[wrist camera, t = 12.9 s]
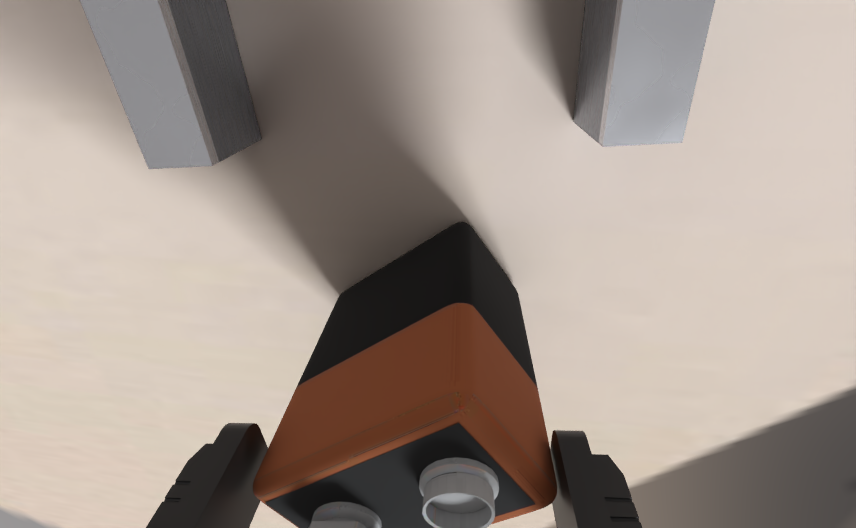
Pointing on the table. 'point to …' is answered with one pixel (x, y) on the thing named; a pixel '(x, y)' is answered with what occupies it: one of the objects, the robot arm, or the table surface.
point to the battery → (416, 403)
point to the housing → (233, 110)
